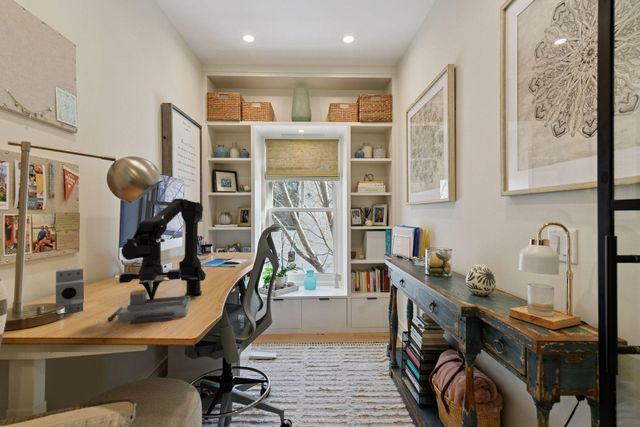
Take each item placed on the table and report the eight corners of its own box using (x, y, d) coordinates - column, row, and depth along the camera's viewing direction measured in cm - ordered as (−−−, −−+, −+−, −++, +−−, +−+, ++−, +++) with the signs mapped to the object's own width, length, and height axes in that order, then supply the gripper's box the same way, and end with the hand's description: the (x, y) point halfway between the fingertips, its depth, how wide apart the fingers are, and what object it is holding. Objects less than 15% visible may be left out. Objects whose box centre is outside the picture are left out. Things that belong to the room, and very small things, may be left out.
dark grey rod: (119, 310, 112) (119, 307, 112) (123, 310, 112) (123, 307, 112) (107, 321, 101) (107, 317, 101) (111, 321, 101) (111, 317, 101)
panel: (132, 308, 115) (132, 297, 115) (190, 303, 121) (190, 292, 121) (118, 322, 100) (118, 309, 100) (186, 315, 106) (185, 304, 106)
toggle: (134, 302, 110) (134, 289, 110) (146, 301, 112) (146, 288, 112) (130, 306, 106) (130, 292, 106) (143, 305, 107) (143, 291, 107)
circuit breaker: (55, 319, 103) (55, 274, 103) (56, 309, 114) (56, 268, 114) (84, 314, 108) (83, 271, 108) (82, 305, 119) (82, 266, 119)
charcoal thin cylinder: (129, 324, 98) (129, 320, 98) (130, 323, 99) (130, 319, 99) (171, 320, 102) (171, 316, 102) (172, 319, 103) (172, 315, 103)
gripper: (113, 260, 99) (114, 309, 99) (177, 257, 105) (177, 303, 105) (124, 256, 110) (124, 300, 110) (181, 253, 116) (181, 295, 116)
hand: (151, 300), depth 110 cm, fingers closed
